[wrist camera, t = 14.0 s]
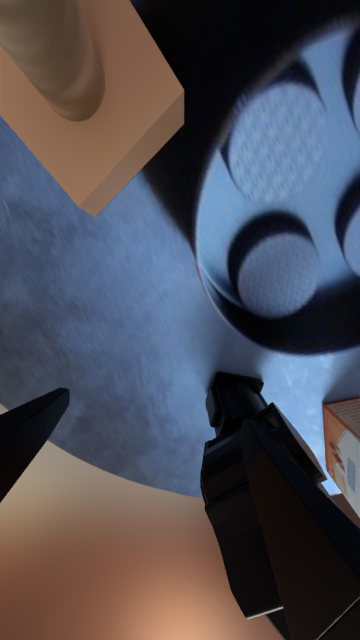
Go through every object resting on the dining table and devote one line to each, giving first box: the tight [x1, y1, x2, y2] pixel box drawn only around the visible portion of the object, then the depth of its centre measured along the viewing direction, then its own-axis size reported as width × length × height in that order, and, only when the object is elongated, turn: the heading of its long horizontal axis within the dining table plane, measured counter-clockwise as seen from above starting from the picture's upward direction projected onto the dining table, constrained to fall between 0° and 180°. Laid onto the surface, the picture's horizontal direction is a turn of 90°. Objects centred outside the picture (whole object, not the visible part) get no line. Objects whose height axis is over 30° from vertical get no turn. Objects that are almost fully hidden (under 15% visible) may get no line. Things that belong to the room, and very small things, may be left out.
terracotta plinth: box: [0, 0, 184, 217], centre depth 14 cm, size 12×12×3 cm
